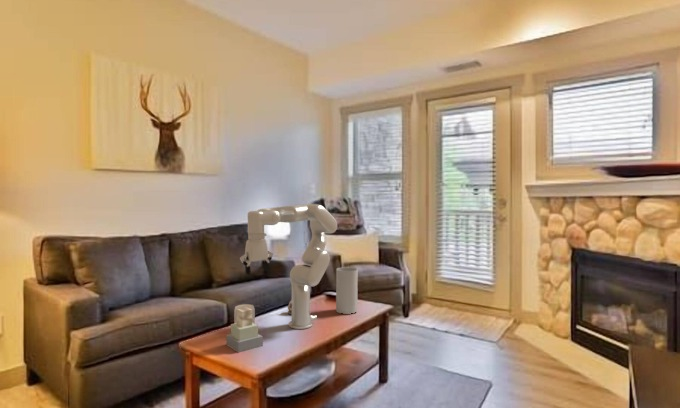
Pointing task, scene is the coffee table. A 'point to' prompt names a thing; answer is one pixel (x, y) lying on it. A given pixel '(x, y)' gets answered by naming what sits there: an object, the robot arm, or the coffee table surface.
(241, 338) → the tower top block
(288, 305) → the decorative ornament
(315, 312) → the coffee table surface
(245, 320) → the ash block
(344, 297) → the cylinder vase
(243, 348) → the tower bottom block
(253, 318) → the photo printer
